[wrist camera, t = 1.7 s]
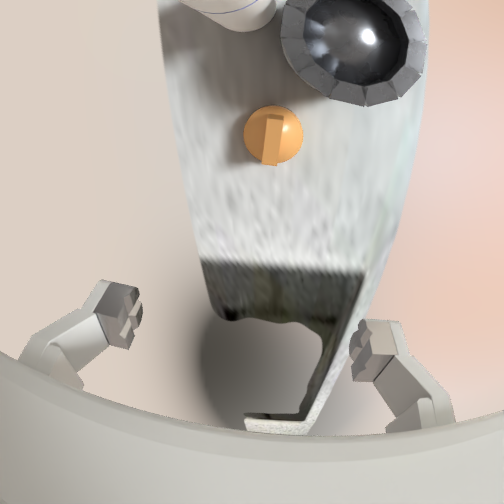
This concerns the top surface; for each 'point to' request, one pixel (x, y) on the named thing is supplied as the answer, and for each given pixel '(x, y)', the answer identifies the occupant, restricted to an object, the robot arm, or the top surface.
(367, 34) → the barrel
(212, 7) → the cylindrical container
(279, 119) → the cap
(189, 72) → the top surface
